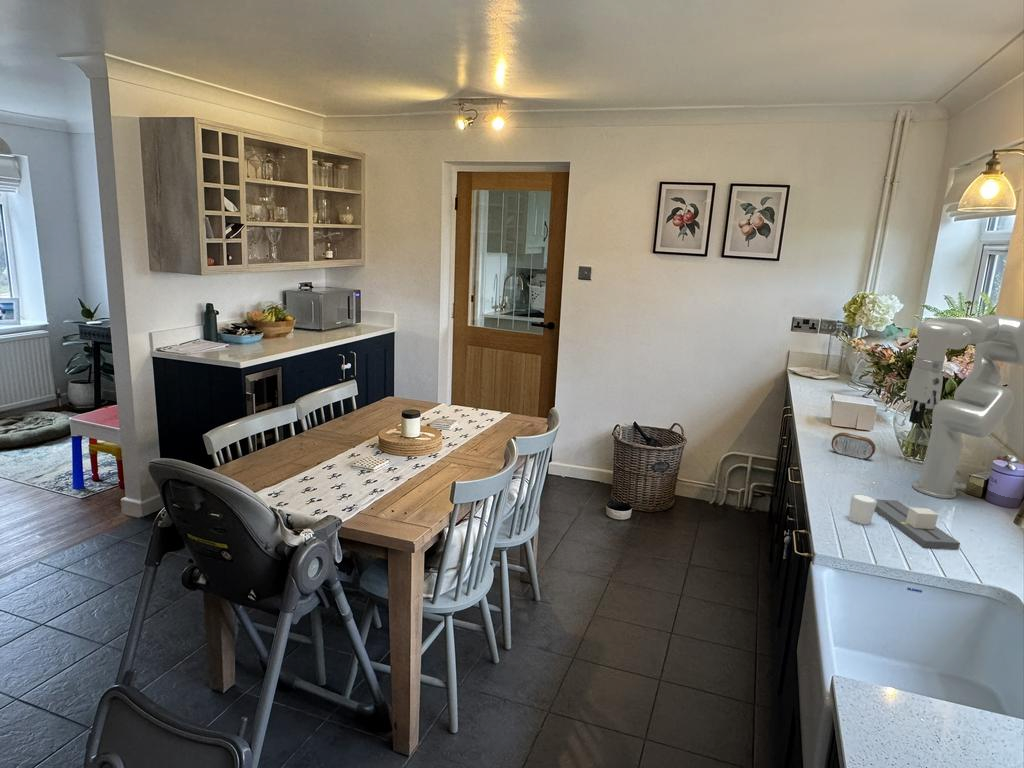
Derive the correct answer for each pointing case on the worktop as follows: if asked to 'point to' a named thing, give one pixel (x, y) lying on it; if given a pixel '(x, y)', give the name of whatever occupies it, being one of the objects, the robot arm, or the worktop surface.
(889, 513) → the fader track
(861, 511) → the white cylinder
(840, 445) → the tin
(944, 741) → the worktop surface
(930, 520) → the fader knob
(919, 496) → the worktop surface
